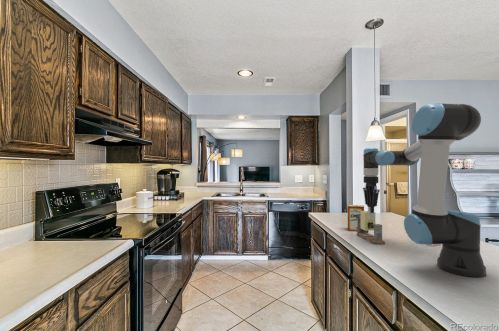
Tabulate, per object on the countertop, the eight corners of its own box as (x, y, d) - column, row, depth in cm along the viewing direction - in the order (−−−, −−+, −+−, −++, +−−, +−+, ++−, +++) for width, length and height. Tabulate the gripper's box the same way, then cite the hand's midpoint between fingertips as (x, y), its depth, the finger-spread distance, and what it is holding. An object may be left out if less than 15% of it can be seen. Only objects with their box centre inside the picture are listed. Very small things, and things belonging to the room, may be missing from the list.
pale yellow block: (375, 230, 145) (375, 212, 145) (365, 230, 144) (365, 212, 144) (370, 228, 150) (370, 210, 150) (360, 228, 149) (360, 211, 149)
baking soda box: (347, 230, 163) (347, 205, 163) (347, 228, 170) (347, 204, 169) (364, 232, 160) (364, 206, 160) (363, 229, 166) (363, 204, 166)
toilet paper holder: (384, 244, 136) (384, 222, 136) (373, 244, 135) (373, 222, 135) (366, 234, 154) (366, 215, 154) (356, 235, 153) (356, 215, 153)
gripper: (384, 176, 137) (384, 220, 137) (370, 175, 150) (370, 216, 150) (371, 176, 137) (371, 221, 137) (358, 175, 150) (358, 216, 150)
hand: (370, 218), depth 144 cm, fingers closed
